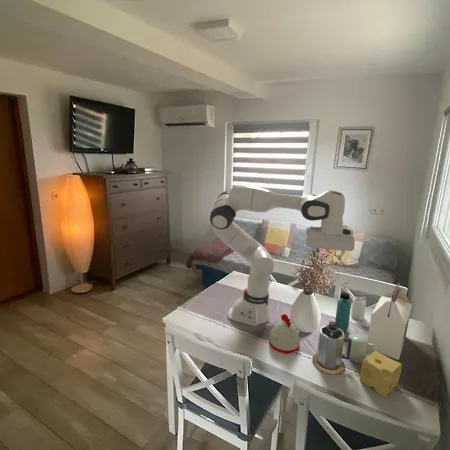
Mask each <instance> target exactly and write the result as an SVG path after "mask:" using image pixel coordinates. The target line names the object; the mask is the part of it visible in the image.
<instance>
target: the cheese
mask: <svg viewBox="0 0 450 450" xmlns="http://www.w3.org/2000/svg"><path fill="white" fill-rule="evenodd" d="M401 372H402V363H401V362H398V360H394V359H393V358H391V357H389V356H387V355H384V354H381V353H379V352H377V351H374V350H373V353H372V354H371V355H368V356H367V357H365V359H364V360H363V362H361V369H360V374H359V381H360V382H361V383H363V384H364V385H366V386H367V387H369V388H374V391H375V392H376V393H378V394H379V395H380V396H382V397H383V398H386V397H387V396H388V394H389V393H391V392H392V391H393V390H394V388H397V386H398V383H399V380H400V377H401V374H402V373H401Z"/></svg>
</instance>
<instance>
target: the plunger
mask: <svg viewBox="0 0 450 450" xmlns="http://www.w3.org/2000/svg"><path fill="white" fill-rule="evenodd" d="M326 325H327V326H326V329H327V330H328V331H329V332H331V336H330V338H332V337H333V333H337V332H338V331H339V328H338V327H337V323H335V321H329V322H328V324H326Z"/></svg>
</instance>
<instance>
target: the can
mask: <svg viewBox="0 0 450 450" xmlns="http://www.w3.org/2000/svg"><path fill="white" fill-rule="evenodd" d="M366 307H367V298H366V297H365V296H364V295H361V294H355V295H353V299H352V303H351V310H350V317H351V318H352V319H354V320H356V321H363V320H364V318H365V314H366Z"/></svg>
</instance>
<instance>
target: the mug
mask: <svg viewBox="0 0 450 450" xmlns="http://www.w3.org/2000/svg"><path fill="white" fill-rule="evenodd" d="M348 338H351V340H352V343H351V350H350V357H349V360H351V361H353V362H356V363H362V362H363V360H364V359H365V358H366V356H367V355H368V356H369V355H371V354H372V353H373V352H374V350H373V347H374V345H373V344H371V343H368V340H367V339H368V337H366V336H365V335H364V334H361V333H356V332H352V333H349V335H348ZM347 346H348V344H347V345H346V347H347ZM346 353H347V351H346ZM346 353H345V354H346Z"/></svg>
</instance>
